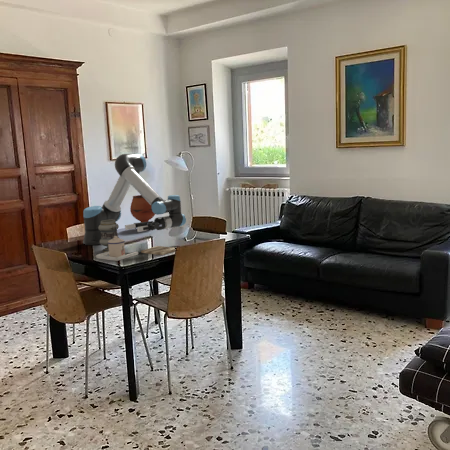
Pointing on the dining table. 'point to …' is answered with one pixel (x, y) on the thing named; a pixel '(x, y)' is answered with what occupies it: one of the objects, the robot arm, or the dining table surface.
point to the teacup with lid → (116, 247)
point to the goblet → (141, 209)
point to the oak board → (159, 250)
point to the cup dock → (103, 256)
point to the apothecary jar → (107, 232)
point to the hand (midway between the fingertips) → (131, 228)
